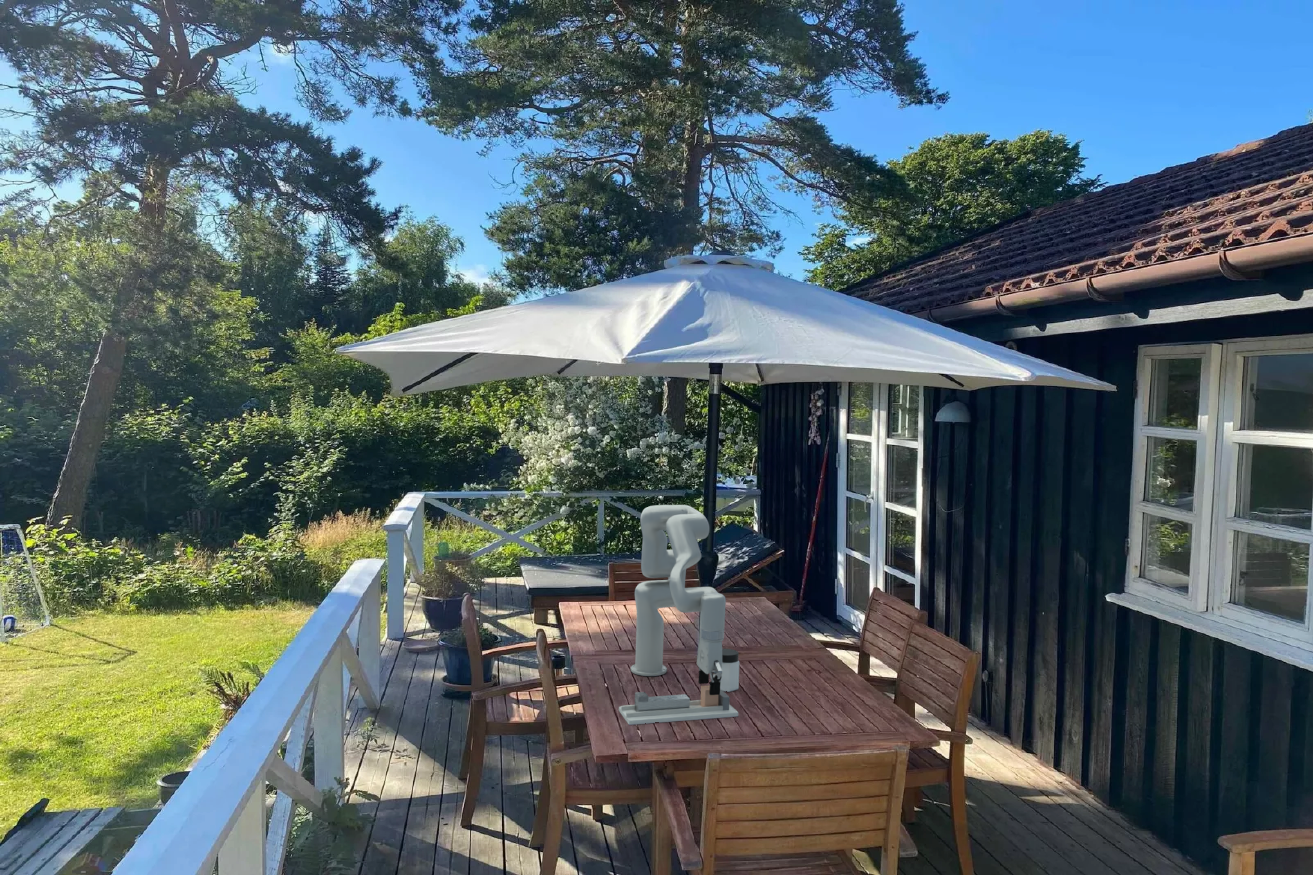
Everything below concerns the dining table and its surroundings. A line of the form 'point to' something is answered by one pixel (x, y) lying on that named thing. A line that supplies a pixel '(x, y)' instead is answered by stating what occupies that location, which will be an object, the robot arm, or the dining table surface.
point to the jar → (729, 670)
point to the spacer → (708, 697)
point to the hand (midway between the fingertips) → (708, 688)
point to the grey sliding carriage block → (660, 702)
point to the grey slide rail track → (680, 712)
